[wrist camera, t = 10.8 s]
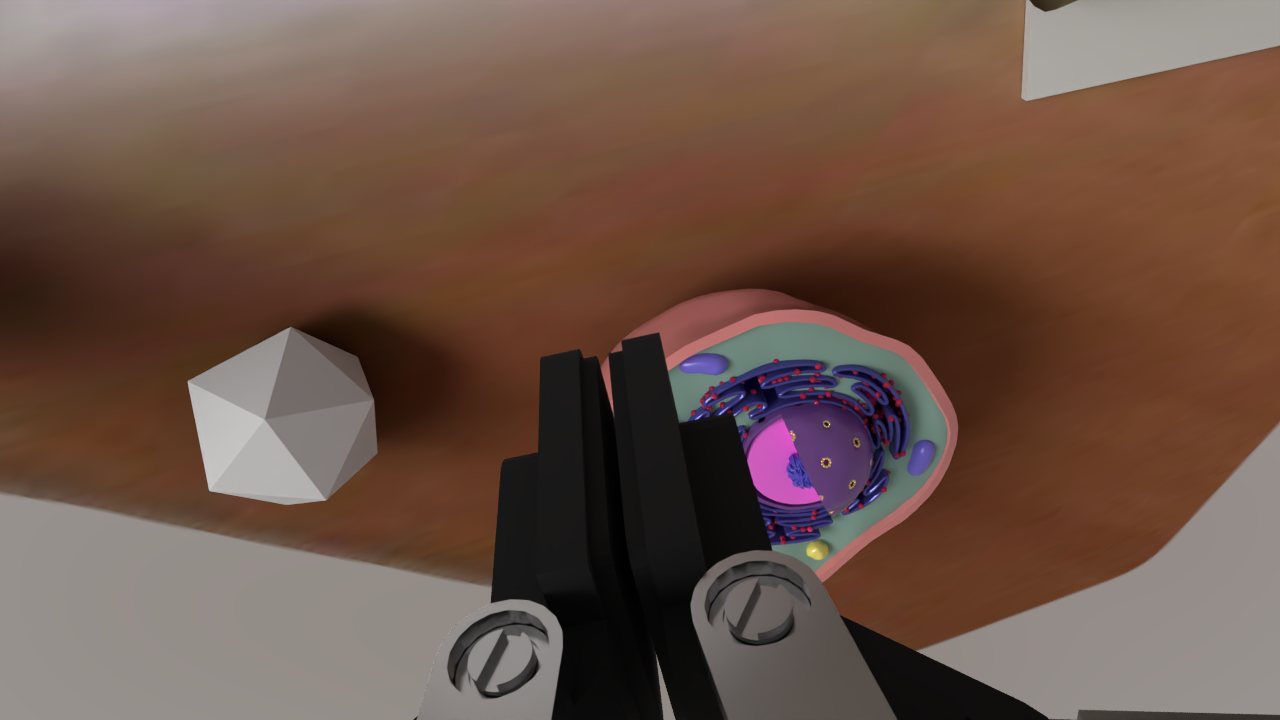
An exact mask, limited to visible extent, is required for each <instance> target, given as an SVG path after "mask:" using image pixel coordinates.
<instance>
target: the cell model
mask: <svg viewBox="0 0 1280 720" xmlns="http://www.w3.org/2000/svg"><path fill="white" fill-rule="evenodd" d="M658 332H659V333H660V337H661V341H662V346H663V350H664V355H665V360H666V364H667V369H668V373H669V378H670V382H671V387H672V392H673V396H674V401H675V405H676V410H677V414H678V419H679V423H682V422H687V421H692V420H697V419H701V418H706V417H711V416H716V415H721V414H726V413H730V412H733V414H734V417H735V420H736V423H737V427H738V430H739V434H740V437H741V441H742V444H743V448H744V451H745V455H746V458H747V462H748V466H749V469H750V473H751V476H752V480H753V483H754V487H755V490H756V494H757V497H758V501H759V504H760V508H761V511H762V515H763V518H764V522H765V525H766V529H767V532H768V536H769V539H770V543H771V546H772V550H773V551H777V552H780V553H783V554H787V555H790V556H793V557H795V558H797V559H798V560H800V561H801V562H803V563H805V564H806V565H808V566H809V567H810V568H811V569H812V570H813V572H814V573H815V574H816V575H817V576H818V578H819V579H820V580H821V582H824V581H825V580H826V579H828V578H829V577H830V576H831V575H832V574H833V573H834V572H835V571H837V570H838V569H839V568H840V567H841V566H842V565H843V564H845V563H846V562H847V561H848V560H849V559H850V558H852V557H853V556H854V555H855V554H856V553H857V552H859V551H860V550H861V549H862V548H863V547H865V546H866V545H867V544H868V543H870V542H871V541H872V540H874V539H875V538H877V537H879V536H880V535H882V534H883V533H885V532H886V531H888V530H890V529H891V528H893V527H894V526H896V525H898V524H899V523H901V522H902V521H904V520H905V519H906V518H907V517H909V516H910V515H911V514H912V513H913V512H914V511H916V510H917V509H918V508H919V507H920V506H921V504H922V503H923V502H924V501H925V500H926V499H927V498H928V497H929V496H930V495H931V494H932V492H933V491H934V490H935V488H936V487H937V486H938V484H939V483H940V481H941V479H942V478H943V476H944V474H945V472H946V470H947V469H948V467H949V464H950V461H951V458H952V456H953V453H954V450H955V447H956V444H957V435H958V422H957V416H956V413H955V410H954V408H953V405H952V403H951V401H950V400H949V398H948V396H947V394H946V393H945V391H944V389H943V388H942V386H941V384H940V383H939V381H938V380H937V378H936V377H935V375H934V374H933V373H932V371H931V370H930V368H929V367H928V365H927V364H926V362H925V361H924V360H923V358H922V357H921V356H920V355H919V354H918V353H916V352H915V351H914V350H913V349H912V348H911V347H910V346H908V345H906V344H904V343H902V342H900V341H898V340H896V339H893V338H890V337H888V336H885V335H882V334H880V333H877V332H875V331H874V330H872V329H870V328H869V327H867V326H866V325H864V324H862V323H861V322H859V321H857V320H854V319H852V318H850V317H848V316H846V315H844V314H841V313H839V312H837V311H834V310H830V309H827V308H824V307H821V306H818V305H815V304H812V303H809V302H806V301H804V300H801V299H798V298H796V297H793V296H791V295H788V294H785V293H781V292H777V291H773V290H767V289H758V288H748V289H736V290H725V291H719V292H713V293H707V294H703V295H700V296H696V297H693V298H691V299H689V300H686V301H684V302H682V303H679V304H677V305H675V306H673V307H672V308H670V309H668V310H666V311H664V312H663V313H661V314H659V315H657V316H656V317H654V318H652V319H650V320H648V321H647V322H645V323H643V324H641V325H640V326H638V327H637V328H635V329H634V330H633V331H631V332H630V333H629V334H627V335H626V336H625V337H624V338H623V339H621V340H620V341H619V342H618V344H617V345H616V346H615V347H614V348H613V349H612V350H611V352H610V353H613V352H618V351H622V343H621V341H622V340H625V339H629V338H634V337H639V336H643V335H648V334H653V333H658ZM600 367H601V371H602V375H603V378H604V382H605V386H606V389H607V393H608V397H609V400H610V404H611V408H612V412H613V415H614V410H613V399H612V389H611V378H610V368H609V357H608V356H607V357H606V359H605V360H604V362H603V363H602V365H601V366H600Z"/></svg>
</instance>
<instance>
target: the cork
mask: <svg viewBox="0 0 1280 720" xmlns="http://www.w3.org/2000/svg"><path fill="white" fill-rule="evenodd" d="M1075 1H1077V0H1030V2H1031V3H1032V4H1033V5H1034V6H1035V7H1036V8H1038V9H1040V10H1042V11H1044V12H1047V11H1052V10H1056V9H1058V8H1061V7H1063V6H1066V5H1068V4H1070V3H1073V2H1075Z"/></svg>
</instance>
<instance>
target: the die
mask: <svg viewBox="0 0 1280 720" xmlns="http://www.w3.org/2000/svg"><path fill="white" fill-rule="evenodd" d="M188 386H189V391H190V396H191V401H192V406H193V411H194V416H195V421H196V426H197V431H198V436H199V441H200V446H201V451H202V456H203V461H204V466H205V471H206V476H207V481H208V486H209V491H213V492H218V493H224V494H229V495H235V496H241V497H246V498H252V499H257V500H263V501H269V502H274V503H280V504H285V505H288V504H297V503H306V502H315V501H324V500H327V499H328V498H329V497H330V496H331V495H332V494H334V493H335V492H336V491H337V490H338V489H339V488H340V487H341V486H342V485H343V484H344V483H346V482H347V481H348V480H349V479H350V478H351V477H352V476H353V475H354V474H355V473H356V472H358V471H359V470H360V469H361V468H362V467H363V466H364V465H365V464H366V463H367V462H368V461H369V460H371V459H372V458H373V457H374V456H375V455H376V454H377V438H376V423H375V408H374V399H373V396H372V393H371V391H370V388H369V385H368V383H367V380H366V377H365V375H364V372H363V369H362V367H361V364H360V362H359V359H358V357H357V356H355V355H352V354H350V353H348V352H346V351H343V350H341V349H339V348H337V347H335V346H332V345H330V344H328V343H326V342H323V341H321V340H319V339H317V338H315V337H312V336H310V335H308V334H306V333H303V332H301V331H299V330H297V329H294V328H292V327H290V328H288V329H286V330H284V331H282V332H280V333H278V334H276V335H274V336H272V337H270V338H268V339H266V340H264V341H263V342H261V343H259V344H257V345H255V346H253V347H251V348H249V349H247V350H245V351H244V352H242V353H240V354H238V355H236V356H234V357H232V358H230V359H228V360H227V361H225V362H223V363H221V364H219V365H217V366H215V367H213V368H211V369H210V370H208V371H206V372H204V373H202V374H200V375H198V376H196V377H194V378H193V379H191V380H189V381H188Z"/></svg>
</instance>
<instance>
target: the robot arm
mask: <svg viewBox="0 0 1280 720" xmlns="http://www.w3.org/2000/svg"><path fill="white" fill-rule="evenodd" d="M621 343H622V351H618V352H613V353H609V354H608V357H609V368H610V378H611V389H612V399H613V410H614V415H613V412H612V408H611V404H610V400H609V397H608V393H607V389H606V386H605V382H604V378H603V375H602V371H601V367H600V364H599V361H598V358H597V356H594V357H590V358H585V359H584V358H583V355H582V353H581V351H580V349H577V350H573V351H568V352H563V353H559V354H554V355H549V356H545V357H542V358H541V360H540V397H539V442H538V453H533V454H528V455H523V456H519V457H514V458H509V459H505V460H504V461H503V462H502V467H501V475H500V488H499V501H498V515H497V528H496V541H495V554H494V567H493V581H492V595H491V604H489V605H487V606H484V607H483V608H480V609H478V610H476V611H474V612H472V613H471V614H469V615H468V616H467V617H465V618H464V619H463V620H461V621H460V622H459V623H458V624H456V625H455V627H454V628H453V629H452V630H451V632H450V633H449V634H448V635H447V636H446V637H445V639H444V640H443V642H442V644H441V646H440V648H439V650H438V653H437V655H436V657H435V660H434V664H433V667H432V670H431V673H430V677H429V680H428V684H427V687H426V691H425V694H424V697H423V700H422V704H421V707H420V710H419V714H418V716H417V717H416V718H415V719H414V720H663V710H662V703H661V693H660V685H659V676H658V668H657V659H656V655H657V658H658V661H659V665H660V668H661V672H662V675H663V678H664V682H665V685H666V688H667V692H668V695H669V699H670V702H671V706H672V709H673V712H674V716H675V719H676V720H1068V719H1048V718H1047V717H1046V716H1044V715H1043V714H1041V713H1040V712H1038V711H1037V710H1035V709H1034V708H1032V707H1030V706H1029V705H1027V704H1026V703H1024V702H1021V701H1020V700H1018V699H1015V698H1013V697H1011V696H1009V695H1007V694H1005V693H1003V692H1001V691H999V690H996V689H994V688H992V687H990V686H988V685H986V684H984V683H982V682H980V681H978V680H975V679H973V678H971V677H969V676H967V675H965V674H963V673H961V672H959V671H956V670H954V669H952V668H950V667H948V666H946V665H944V664H942V663H939V662H938V661H935V660H933V659H931V658H929V657H927V656H925V655H923V654H920V653H919V652H917V651H914V650H912V649H910V648H908V647H906V646H904V645H902V644H900V643H898V642H895V641H893V640H891V639H889V638H887V637H885V636H883V635H881V634H879V633H876V632H874V631H872V630H870V629H868V628H866V627H864V626H862V625H860V624H858V623H855V622H853V621H851V620H849V619H847V618H845V617H843V616H841V615H839V613H838V611H837V609H836V607H835V606H834V604H833V602H832V600H831V598H830V596H829V595H828V593H827V591H826V589H825V587H824V586H823V584H822V582H821V580H820V579H819V578H818V576H817V575H816V574H815V573H814V572H813V570H812V569H811V568H810V567H809V566H808V565H806V564H805V563H803V562H801V561H800V560H798V559H797V558H795V557H793V556H790V555H787V554H783V553H780V552H777V551H773V550H772V546H771V543H770V539H769V536H768V532H767V529H766V525H765V522H764V518H763V515H762V511H761V508H760V504H759V501H758V497H757V494H756V490H755V487H754V483H753V480H752V476H751V473H750V469H749V466H748V462H747V458H746V455H745V451H744V448H743V444H742V441H741V437H740V434H739V430H738V427H737V423H736V420H735V417H734V414H733V412H730V413H726V414H721V415H716V416H711V417H706V418H701V419H697V420H692V421H687V422H682V423H679V419H678V414H677V410H676V405H675V401H674V396H673V392H672V387H671V382H670V378H669V373H668V369H667V364H666V360H665V355H664V350H663V346H662V341H661V337H660V333H659V332H658V333H653V334H648V335H643V336H639V337H634V338H629V339H625V340H622V341H621ZM1077 720H1280V715H1262V714H1261V715H1260V714H1221V713H1183V712H1144V711H1142V712H1141V711H1105V710H1079V711H1078V717H1077Z"/></svg>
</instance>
